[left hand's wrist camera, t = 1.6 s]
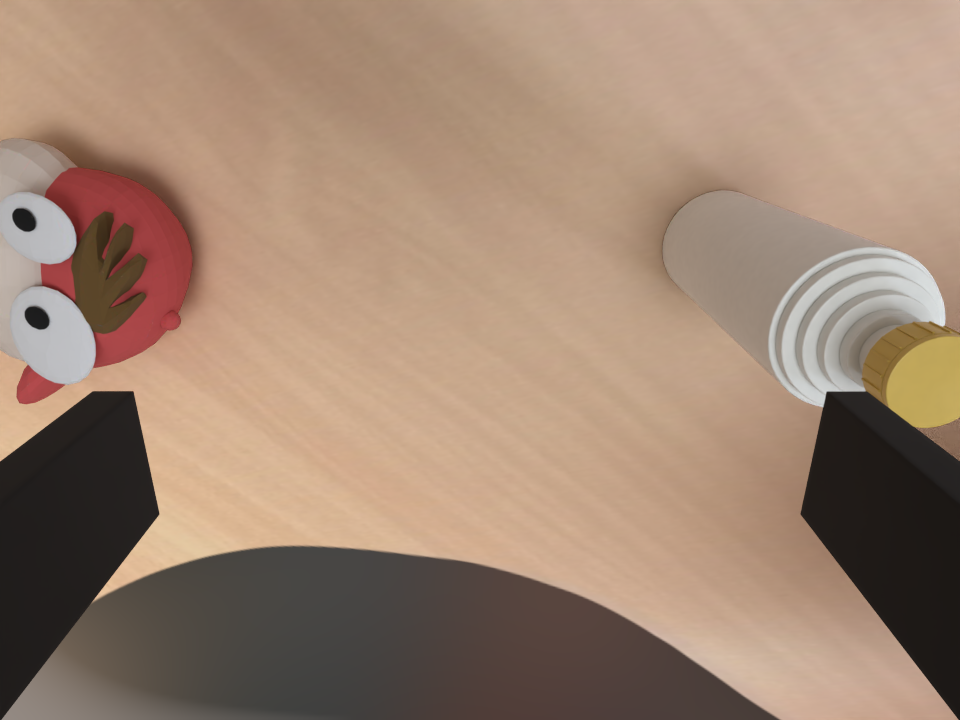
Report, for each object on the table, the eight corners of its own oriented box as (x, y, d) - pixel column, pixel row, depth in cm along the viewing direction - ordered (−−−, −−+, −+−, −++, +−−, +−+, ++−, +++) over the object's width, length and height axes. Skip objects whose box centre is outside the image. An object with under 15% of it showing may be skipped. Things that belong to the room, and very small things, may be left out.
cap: (881, 426, 27) (907, 446, 25) (844, 354, 26) (868, 371, 24) (973, 377, 26) (1004, 395, 25) (939, 301, 25) (970, 315, 23)
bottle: (693, 316, 49) (872, 501, 27) (642, 231, 47) (792, 354, 24) (788, 259, 48) (1065, 403, 25) (741, 167, 45) (998, 236, 23)
